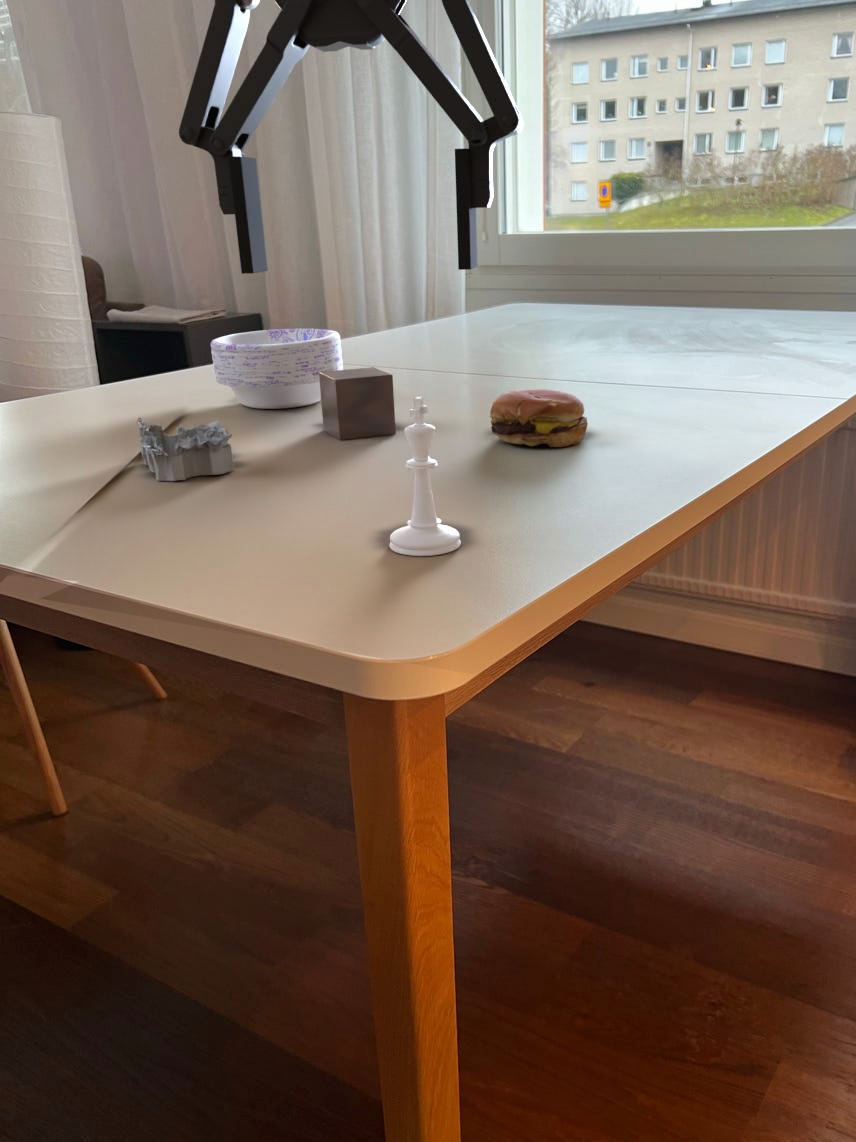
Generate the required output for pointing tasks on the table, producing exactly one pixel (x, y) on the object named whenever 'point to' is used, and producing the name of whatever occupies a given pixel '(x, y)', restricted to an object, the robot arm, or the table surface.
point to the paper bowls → (276, 365)
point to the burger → (538, 418)
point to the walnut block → (357, 403)
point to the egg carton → (186, 451)
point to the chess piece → (423, 497)
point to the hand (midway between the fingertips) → (359, 271)
